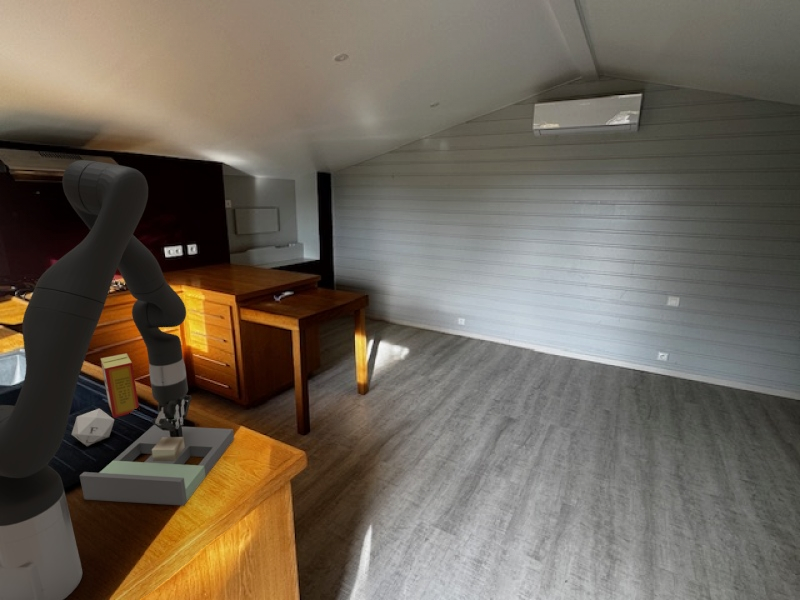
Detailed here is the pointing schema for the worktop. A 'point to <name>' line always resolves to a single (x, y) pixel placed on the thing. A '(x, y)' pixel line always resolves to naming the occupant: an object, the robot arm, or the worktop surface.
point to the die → (92, 427)
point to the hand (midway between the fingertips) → (177, 439)
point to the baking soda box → (119, 384)
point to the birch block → (168, 449)
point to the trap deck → (158, 469)
